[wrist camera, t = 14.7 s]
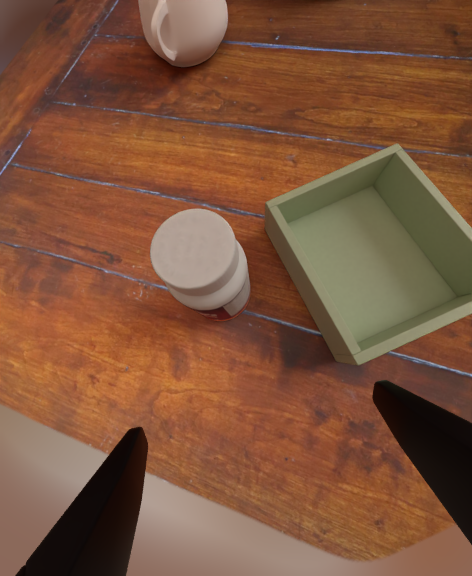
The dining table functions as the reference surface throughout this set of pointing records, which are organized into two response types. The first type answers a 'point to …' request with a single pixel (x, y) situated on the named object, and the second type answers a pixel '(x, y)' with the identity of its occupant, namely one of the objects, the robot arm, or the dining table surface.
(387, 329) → the open box
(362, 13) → the dining table surface
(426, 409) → the robot arm
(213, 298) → the pill bottle
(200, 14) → the teapot
